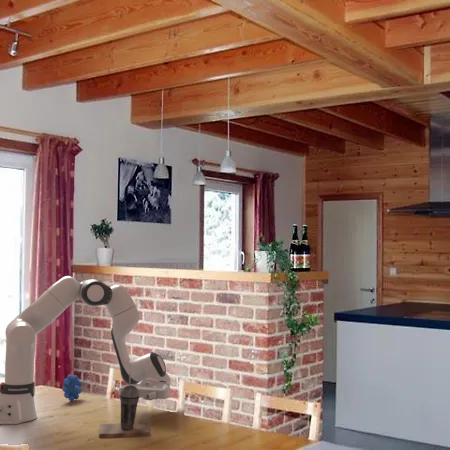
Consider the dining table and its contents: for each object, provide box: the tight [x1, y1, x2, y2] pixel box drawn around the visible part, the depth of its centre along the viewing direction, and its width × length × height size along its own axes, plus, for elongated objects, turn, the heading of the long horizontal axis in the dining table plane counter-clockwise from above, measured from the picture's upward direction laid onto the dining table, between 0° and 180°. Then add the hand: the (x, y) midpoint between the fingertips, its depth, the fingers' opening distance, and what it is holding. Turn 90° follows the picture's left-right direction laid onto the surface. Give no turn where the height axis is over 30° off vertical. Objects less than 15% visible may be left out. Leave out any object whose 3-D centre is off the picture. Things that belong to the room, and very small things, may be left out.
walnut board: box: [98, 422, 150, 438], centre depth 250 cm, size 18×14×1 cm
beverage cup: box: [119, 374, 140, 429], centre depth 251 cm, size 7×7×20 cm
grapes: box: [61, 374, 83, 402], centre depth 299 cm, size 12×7×12 cm, turn 150°
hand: (136, 395), depth 262 cm, fingers open, 8 cm apart
